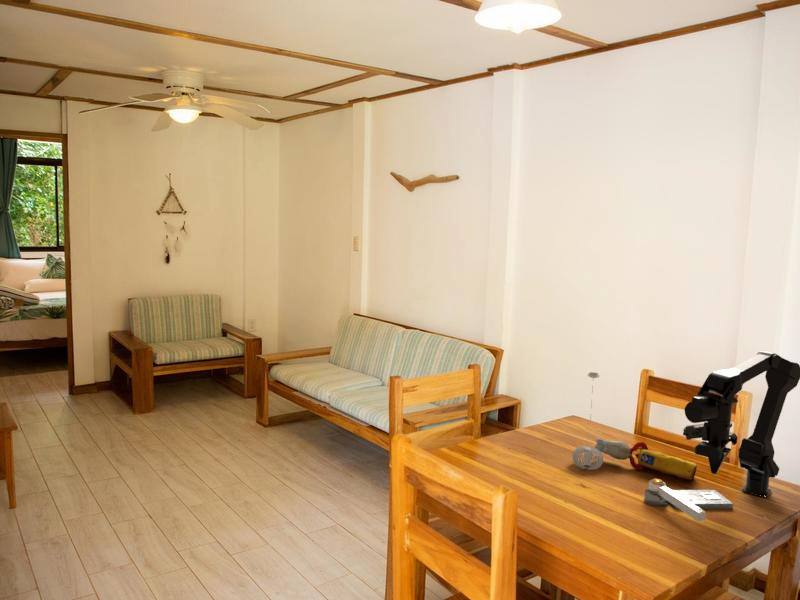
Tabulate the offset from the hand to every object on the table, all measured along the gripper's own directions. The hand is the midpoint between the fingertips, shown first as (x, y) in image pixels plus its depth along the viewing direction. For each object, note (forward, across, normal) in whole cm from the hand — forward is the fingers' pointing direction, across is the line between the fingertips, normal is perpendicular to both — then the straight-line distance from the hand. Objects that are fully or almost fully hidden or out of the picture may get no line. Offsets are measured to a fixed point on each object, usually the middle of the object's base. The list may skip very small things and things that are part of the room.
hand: (713, 473), depth 180 cm
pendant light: (+8, 0, -36) cm, 37 cm away
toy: (+8, -11, -23) cm, 27 cm away
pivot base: (+8, +11, -11) cm, 18 cm away
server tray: (+8, +3, -3) cm, 9 cm away
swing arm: (+5, +16, -5) cm, 17 cm away
